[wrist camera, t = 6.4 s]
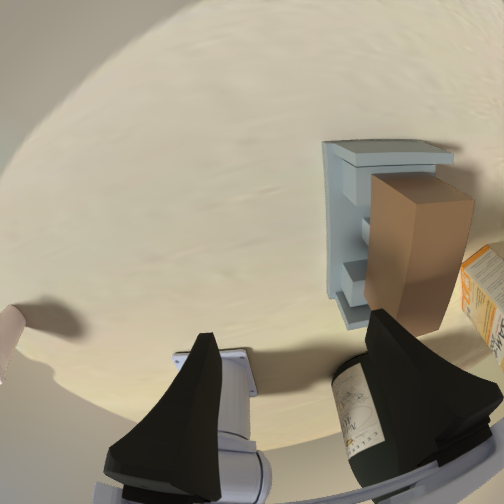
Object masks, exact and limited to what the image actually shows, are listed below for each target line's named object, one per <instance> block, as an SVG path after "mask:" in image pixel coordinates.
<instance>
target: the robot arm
mask: <svg viewBox="0 0 504 504" xmlns="http://www.w3.org/2000/svg"><path fill="white" fill-rule="evenodd" d="M365 343H366V346H367V350H368V354H369V357H370V360H371V362H372V365H373V367H374V370H375V372H376V374H377V377H378V379H379V382H380V384H381V386H382V389H383V391H384V394H385V397H386V400H387V403H388V406H389V410H390V414H391V419H392V424H393V428H394V434H395V440H396V447H397V457H398V471H399V475H400V476H398V477H395V478H393V479H390V480H387V481H384V482H381V483H378V484H375V485H371V486H368V487H364V488H361V489H357V490H353V491H350V492H345V493H341V494H337V495H332V496H327V497H322V498H316V499H310V500H303V501H296V502H288V503H278V504H356V503H360V502H364V501H366V500H370V499H374V498H377V497H380V496H383V495H386V494H389V493H392V492H394V491H397V490H400V489H402V488H405V487H407V486H410V485H412V484H413V485H412V486H411V487H410V490H407V491H405V492H402V493H400V494H397V495H395V496H392V497H390V498H388V499H386V500H383V501H380V502H379V503H378V504H457V503H458V502H460V501H461V500H463V499H464V498H466V497H467V496H468V495H470V494H471V493H473V492H474V491H475V490H477V489H478V488H479V487H481V486H482V485H483V484H485V483H486V482H487V481H488V480H490V479H491V478H492V477H493V476H495V475H496V474H497V473H498V472H499V471H501V470H502V469H503V468H504V418H502V419H501V420H500V421H498V422H497V423H495V424H494V425H493V426H491V427H489V425H488V423H490V418H489V415H490V414H491V413H492V412H493V411H494V410H495V409H496V408H497V407H498V406H499V405H500V404H501V402H502V401H503V398H504V396H503V395H502V392H501V390H500V389H499V387H498V385H497V383H494V382H491V381H488V380H485V379H482V378H479V377H477V376H475V375H472V374H470V373H468V372H466V371H464V370H462V369H460V368H458V367H456V366H455V365H453V364H451V363H449V362H448V361H446V360H445V359H443V358H442V357H440V356H439V355H437V354H436V353H434V352H433V351H431V350H430V349H429V348H428V347H426V346H425V345H424V344H422V343H421V342H420V341H419V340H418V339H416V338H415V337H414V336H413V335H412V334H411V333H409V332H408V331H407V330H406V329H405V328H404V327H403V326H402V325H401V324H399V323H398V322H397V321H396V320H395V319H394V318H393V317H392V316H391V315H390V314H389V313H387V312H386V311H385V310H384V309H383V308H382V309H377V310H372V311H371V314H370V319H369V324H368V328H367V333H366V337H365ZM171 359H172V361H173V362H174V364H175V366H176V367H177V369H178V371H179V373H178V374H177V376H176V377H175V379H174V380H173V382H172V384H171V385H170V387H169V388H168V390H167V391H166V392H165V394H164V395H163V396H162V398H161V399H160V400H159V402H158V403H157V404H156V405H155V406H154V407H153V409H152V410H151V411H150V412H149V413H148V414H147V415H146V416H145V418H144V419H143V420H142V421H141V422H139V423H138V424H137V425H136V426H135V427H134V428H133V429H132V430H131V431H130V432H129V433H128V434H126V435H125V436H124V437H123V438H121V439H120V440H119V441H117V442H116V443H115V444H113V445H112V446H111V447H109V450H108V453H107V457H106V461H105V466H104V471H103V472H104V474H105V475H106V476H108V477H110V478H112V479H114V480H116V481H118V482H120V483H122V484H124V487H123V489H121V488H118V487H115V486H111V485H108V484H105V483H101V482H98V481H96V482H95V485H94V491H93V496H92V502H91V504H265V501H266V499H267V497H268V495H269V493H270V490H271V486H272V469H271V465H270V462H269V460H268V458H267V457H266V456H265V454H264V453H263V452H262V451H260V450H256V441H250V397H256V396H257V395H258V394H257V389H256V386H255V382H254V378H253V375H252V371H251V367H250V363H249V360H248V356H247V352H246V351H245V350H244V349H237V350H226V351H219V349H218V346H217V343H216V340H215V337H214V334H213V332H212V333H200V334H199V335H198V336H197V339H196V341H195V343H194V345H193V347H192V349H191V351H190V353H178V354H172V357H171Z"/></svg>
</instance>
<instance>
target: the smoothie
mask: <svg viewBox="0 0 504 504" xmlns="http://www.w3.org/2000/svg"><path fill="white" fill-rule="evenodd" d="M25 325H26V320H25V318H24V316H23V315H22V313H21V312H20V311H19V310H18V309H17V308H16V307H14V306H13V305H8V306H7V307H6V308H5V309H4V310H3V311H2V312H1V313H0V384H2V383H3V381H4V380H5V375H4V374H5V372H6V369H7V367H8V364H9V362H10V359H11V357H12V354H13V352H14V349H15V347H16V345H17V343H18V340H19V338H20V336H21V334H22V332H23V330H24V327H25Z"/></svg>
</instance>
